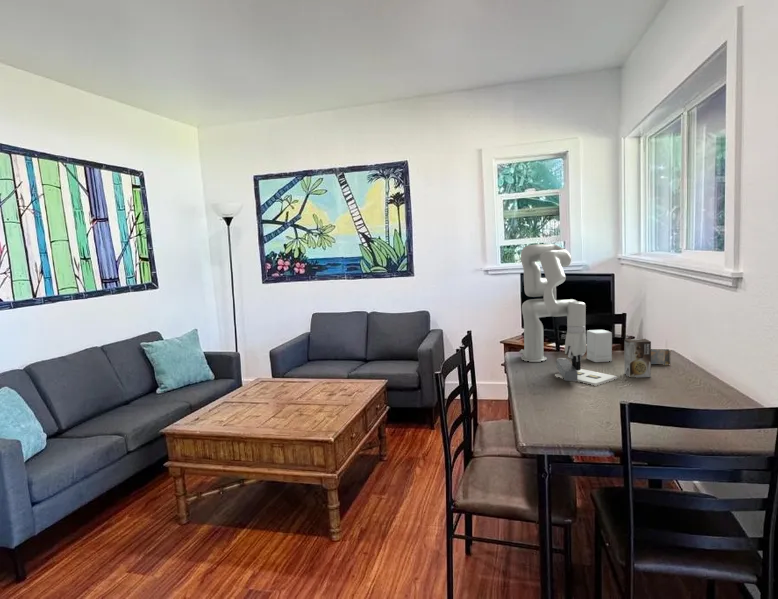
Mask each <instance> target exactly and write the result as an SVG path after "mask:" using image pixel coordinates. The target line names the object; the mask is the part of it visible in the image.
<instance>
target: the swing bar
mask: <svg viewBox="0 0 778 599" xmlns="http://www.w3.org/2000/svg"><path fill="white" fill-rule="evenodd" d="M556 369H557V370H558V373H559V372H560V374H561V375H562V377H563V378H564V379H563V378H562V379H563V380H564V381H570V382H571V381H573V382H576V381H577V370H576V369H575V368H574V366H573V365H572V362H571V360H569V358H566V357H557V358H556Z"/></svg>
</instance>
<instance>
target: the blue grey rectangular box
mask: <svg viewBox="0 0 778 599" xmlns="http://www.w3.org/2000/svg"><path fill="white" fill-rule="evenodd" d="M671 352H672V350H671V349H668V348H651V364H664V365H663V366H667V365H666V364H670V365H671V364H672V362H671V359H672V357H671V356H672V355H671V354H672V353H671Z"/></svg>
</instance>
